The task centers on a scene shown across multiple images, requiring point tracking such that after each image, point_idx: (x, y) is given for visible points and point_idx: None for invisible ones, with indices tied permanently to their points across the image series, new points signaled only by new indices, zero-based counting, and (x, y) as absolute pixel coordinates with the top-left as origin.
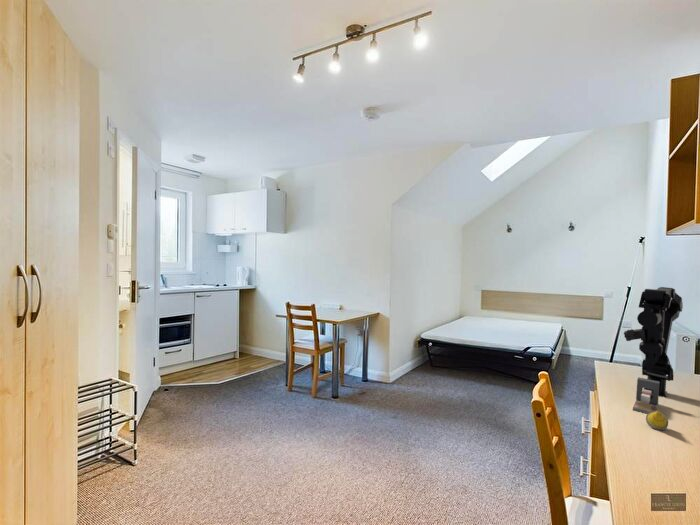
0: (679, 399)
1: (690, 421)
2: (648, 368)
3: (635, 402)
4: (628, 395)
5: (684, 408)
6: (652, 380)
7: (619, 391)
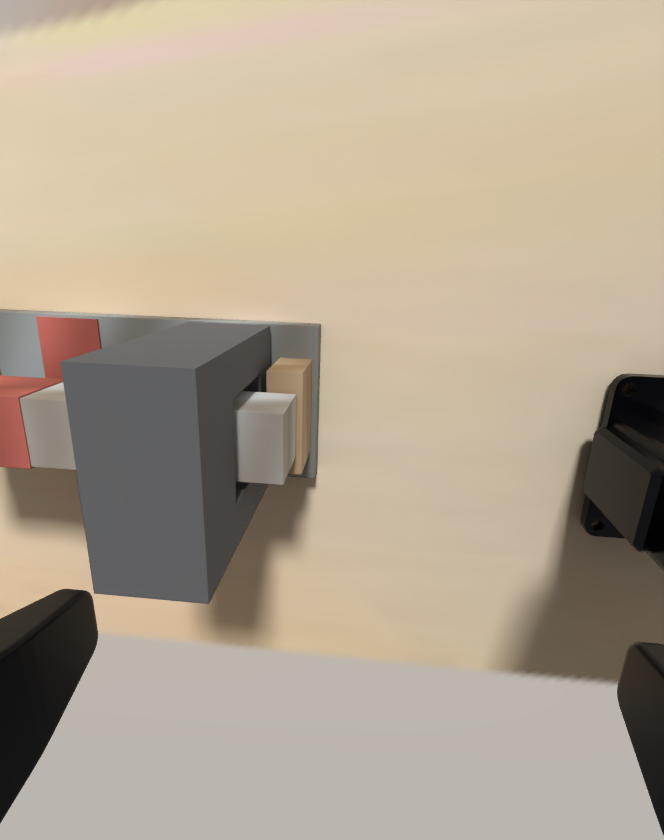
0: (591, 605)
1: (99, 617)
2: (56, 600)
3: (125, 320)
4: (380, 245)
5: (360, 613)
6: (184, 535)
7: (462, 149)
